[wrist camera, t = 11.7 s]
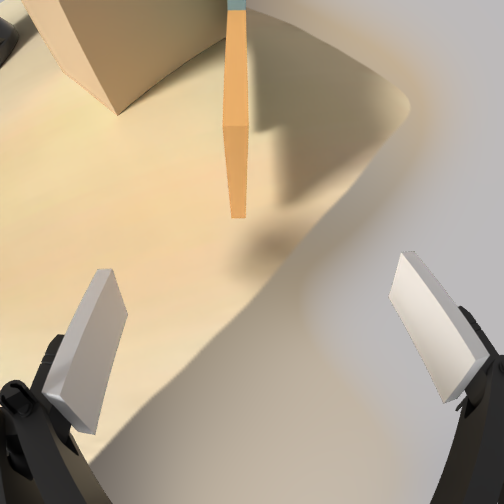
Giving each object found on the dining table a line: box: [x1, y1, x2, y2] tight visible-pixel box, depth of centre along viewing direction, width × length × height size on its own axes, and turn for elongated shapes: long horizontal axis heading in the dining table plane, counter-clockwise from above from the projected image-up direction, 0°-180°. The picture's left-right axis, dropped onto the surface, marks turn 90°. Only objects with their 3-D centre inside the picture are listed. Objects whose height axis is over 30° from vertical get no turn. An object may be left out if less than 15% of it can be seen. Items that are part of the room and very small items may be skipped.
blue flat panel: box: [223, 0, 249, 218], centre depth 16 cm, size 1×21×12 cm, turn 2°
